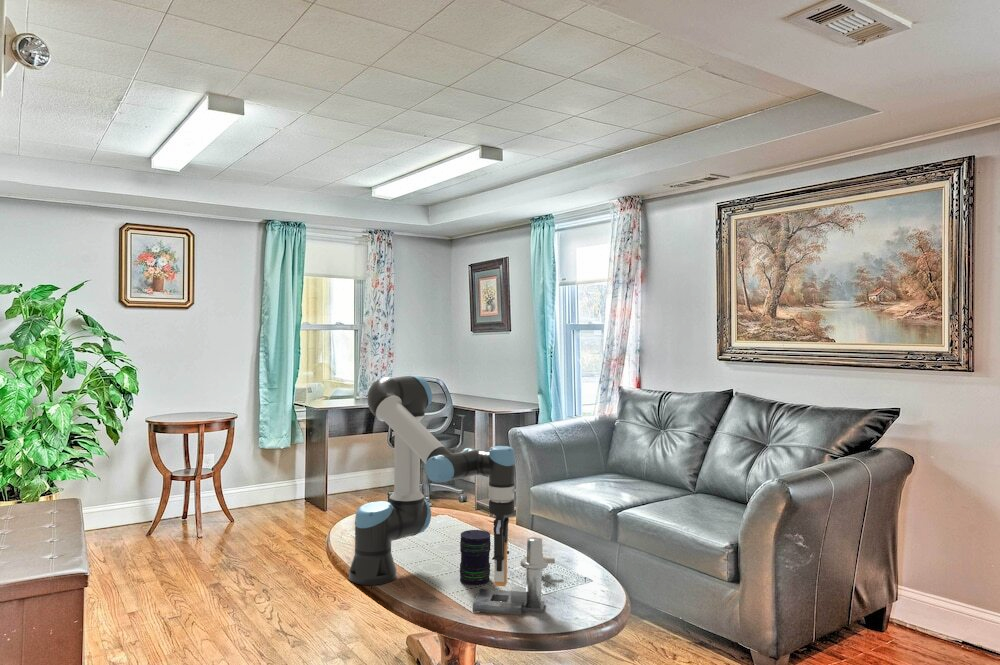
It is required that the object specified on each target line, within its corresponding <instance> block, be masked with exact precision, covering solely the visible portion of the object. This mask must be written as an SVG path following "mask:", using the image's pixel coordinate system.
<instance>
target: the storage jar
mask: <svg viewBox="0 0 1000 665" xmlns="http://www.w3.org/2000/svg"><path fill="white" fill-rule="evenodd" d="M459 544H460V545H459V547H460V548H459V551H460V563H459V582H460V583H461V584H463V585H465V586H470V587H477V586H479V587H480V586H484V585H487V584H488V583H490V579H491V578H490V575H491V562H490V553H491V549H492V548H491V533H490V531H487V530H483V529H469V530H465V531H462V532H461V533H460V542H459Z"/></svg>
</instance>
